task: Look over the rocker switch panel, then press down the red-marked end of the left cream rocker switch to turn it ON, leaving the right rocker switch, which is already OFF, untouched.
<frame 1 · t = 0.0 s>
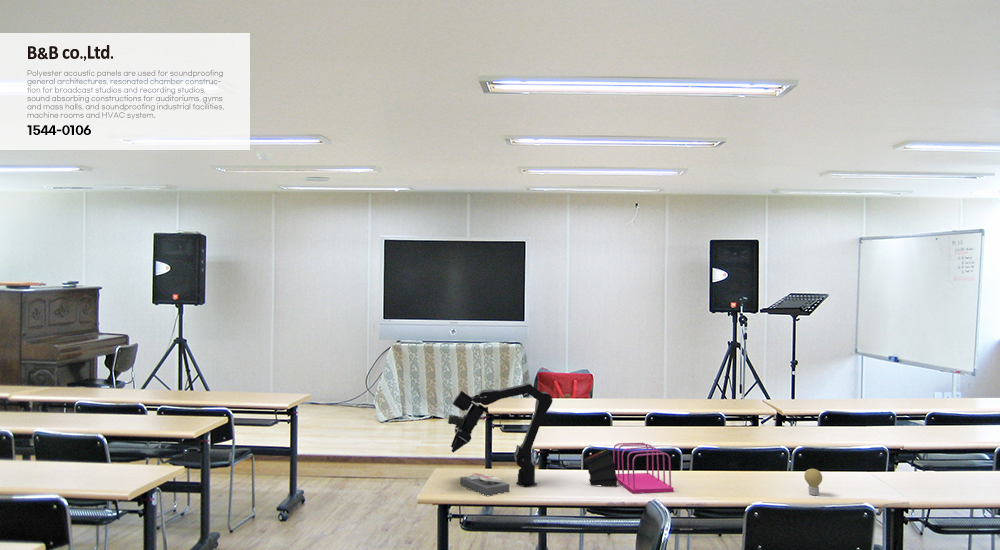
hand: (452, 449, 257), 15 cm above the table, tool tilted 35°, fingers open, 9 cm apart
rocker switch panel: (484, 488, 253), on the table
light bulb: (813, 495, 246), on the table
right rocker: (482, 475, 255), point 5 cm above the table, hinge at -12.0°
left rocker: (490, 479, 250), point 5 cm above the table, hinge at -12.0°
file sorter: (641, 485, 260), on the table
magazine: (600, 485, 259), on the table
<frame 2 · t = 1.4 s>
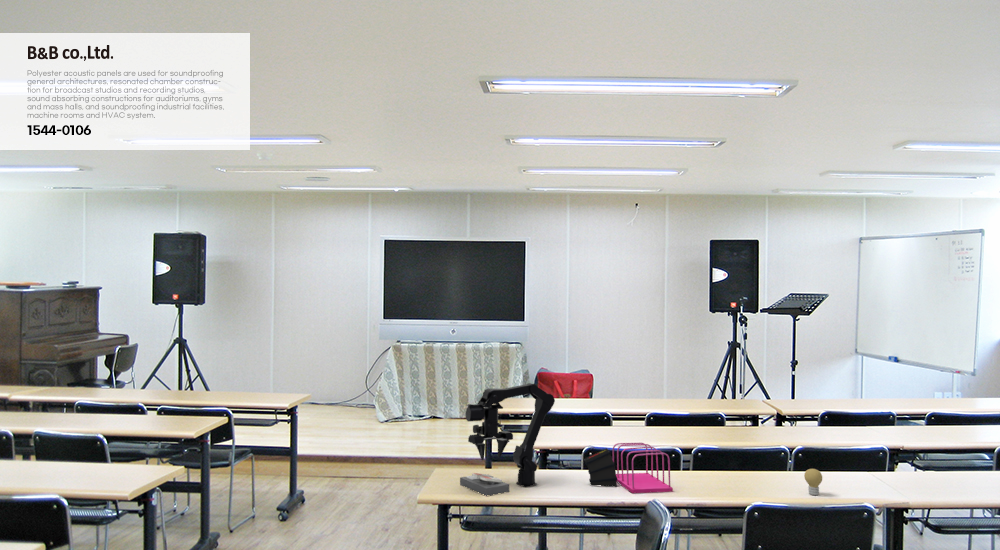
hand: (490, 458, 254), 12 cm above the table, tool pointing down, fingers open, 8 cm apart
nothing on the table moved.
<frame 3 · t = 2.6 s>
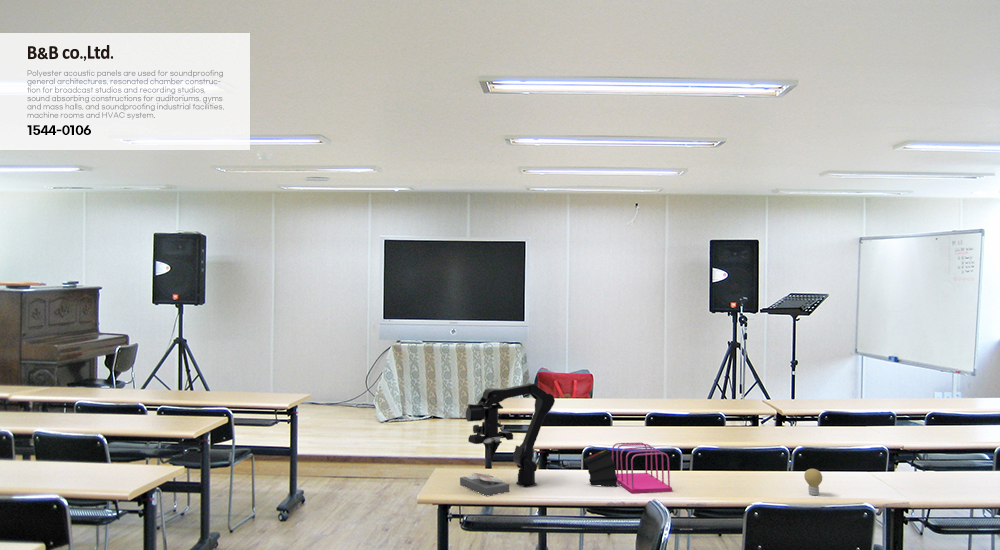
hand: (490, 458, 254), 12 cm above the table, tool pointing down, fingers closed
nothing on the table moved.
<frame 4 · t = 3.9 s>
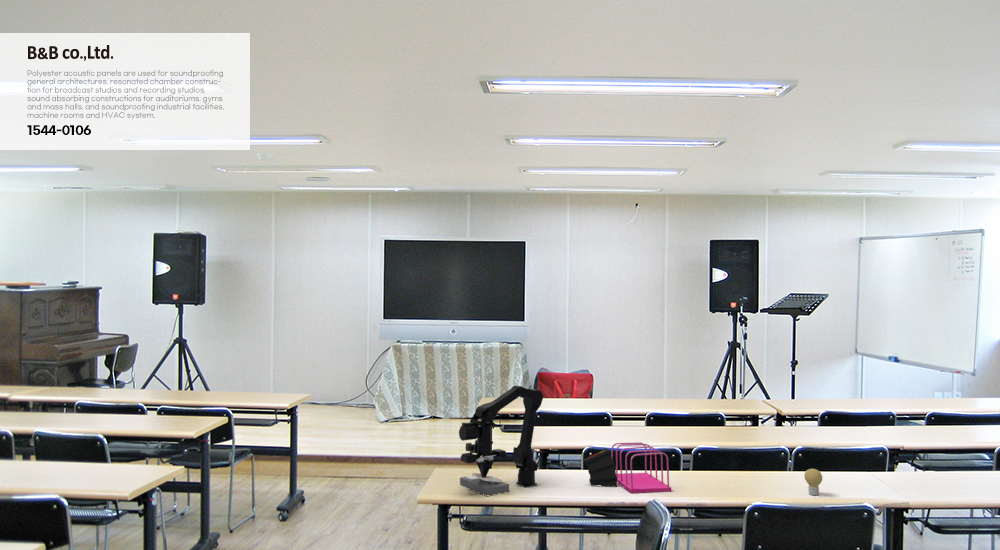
hand: (483, 477, 248), 6 cm above the table, tool pointing down, fingers closed, pressing on left rocker
left rocker: (490, 479, 250), point 5 cm above the table, hinge at -12.0°, touching gripper
everything else where it was.
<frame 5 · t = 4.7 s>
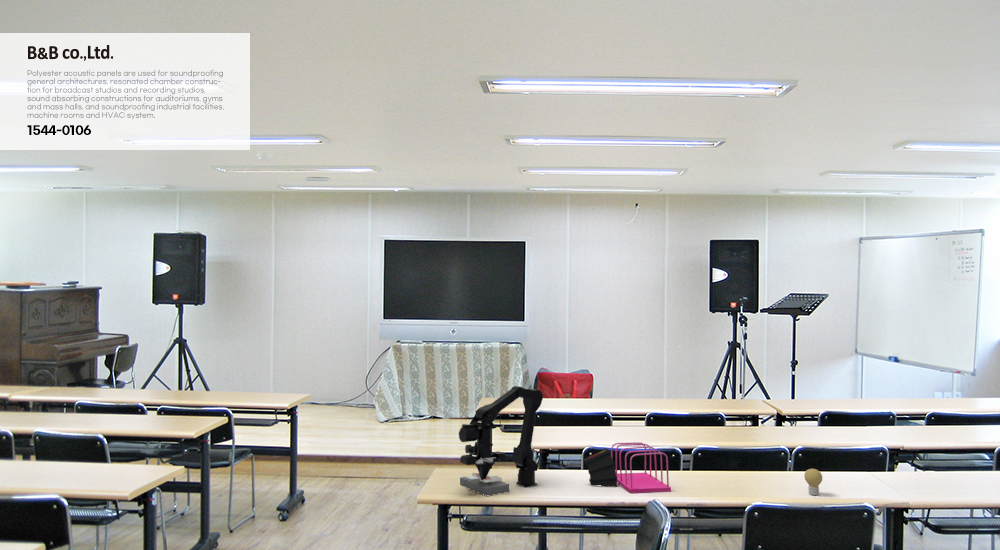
hand: (483, 479, 248), 5 cm above the table, tool pointing down, fingers closed
left rocker: (490, 479, 250), point 5 cm above the table, hinge at -1.9°, touching gripper
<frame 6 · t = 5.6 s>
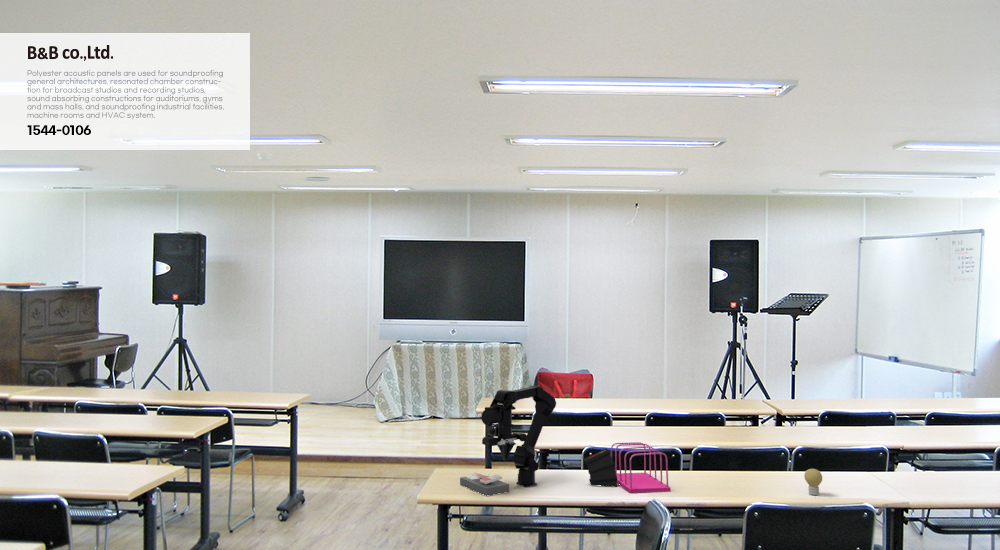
hand: (505, 460, 252), 12 cm above the table, tool pointing down, fingers closed
left rocker: (490, 479, 250), point 5 cm above the table, hinge at 5.9°
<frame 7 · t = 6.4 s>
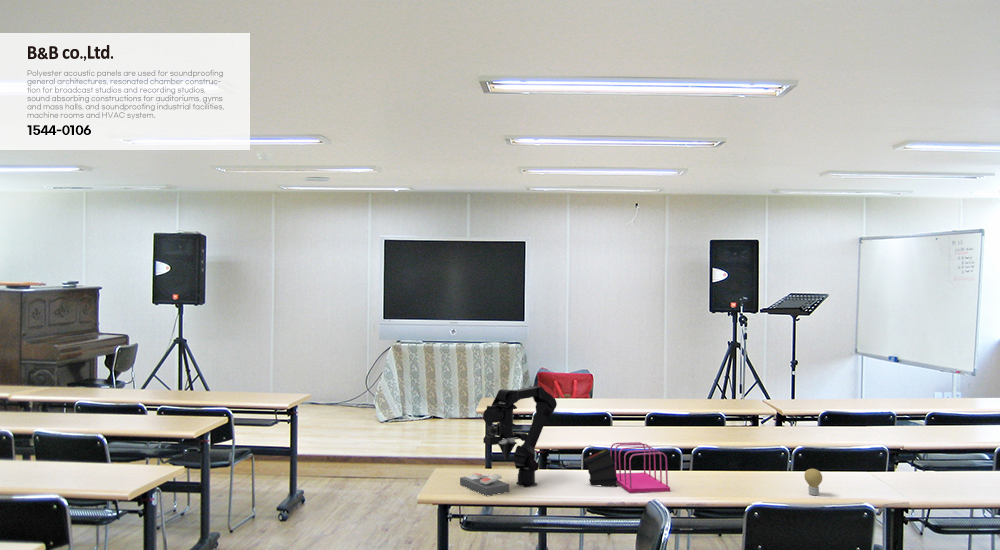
hand: (505, 459, 252), 12 cm above the table, tool pointing down, fingers closed
left rocker: (490, 479, 250), point 5 cm above the table, hinge at 9.7°
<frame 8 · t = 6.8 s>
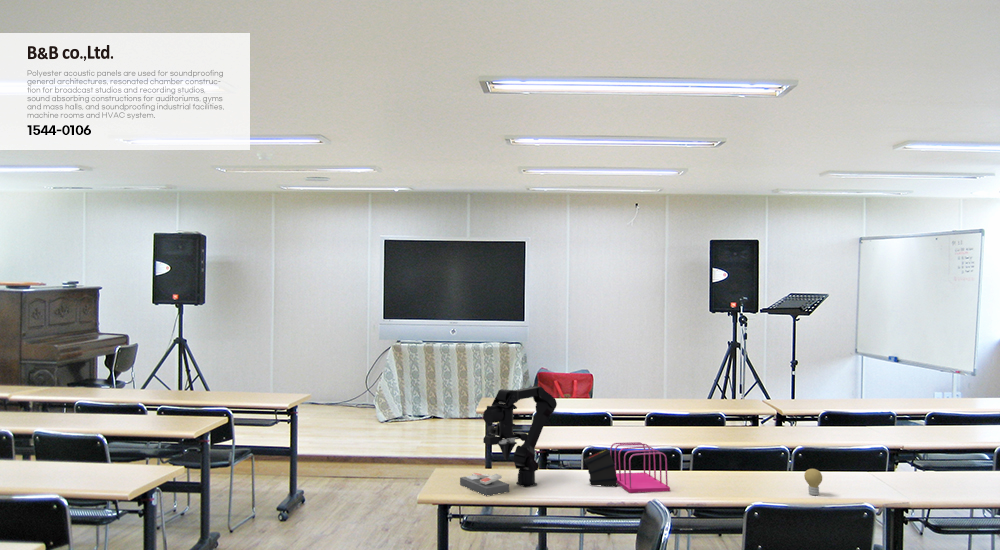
hand: (505, 459, 252), 12 cm above the table, tool pointing down, fingers closed
left rocker: (490, 479, 250), point 5 cm above the table, hinge at 10.9°
at the end: left rocker at +11° (first picture: -12°); right rocker at -12° (first picture: -12°) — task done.
